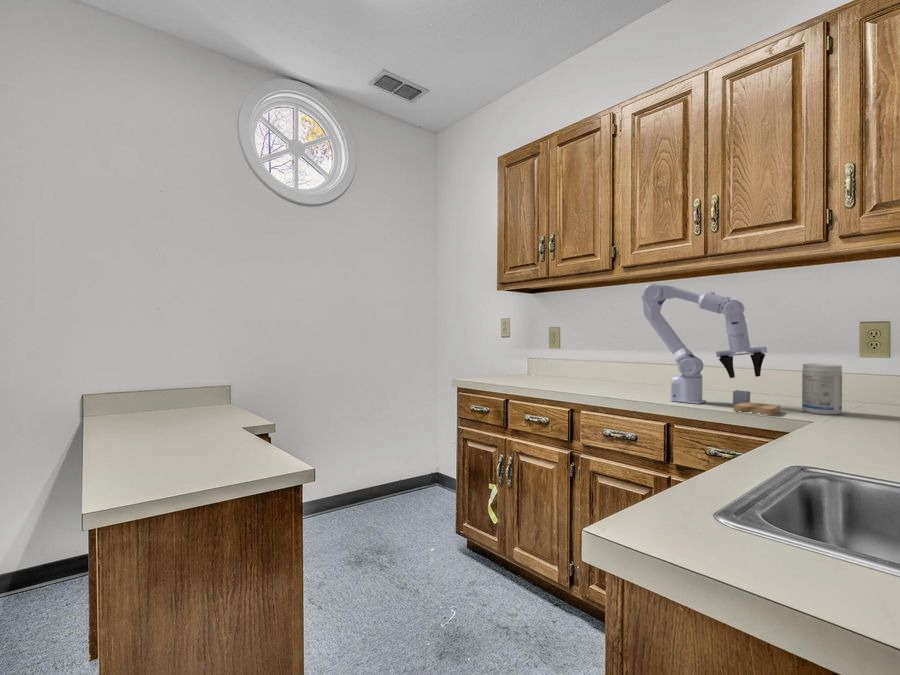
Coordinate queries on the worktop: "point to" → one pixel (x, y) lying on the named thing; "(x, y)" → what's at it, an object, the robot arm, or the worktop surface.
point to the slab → (757, 408)
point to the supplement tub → (822, 388)
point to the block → (740, 397)
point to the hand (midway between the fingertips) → (744, 377)
